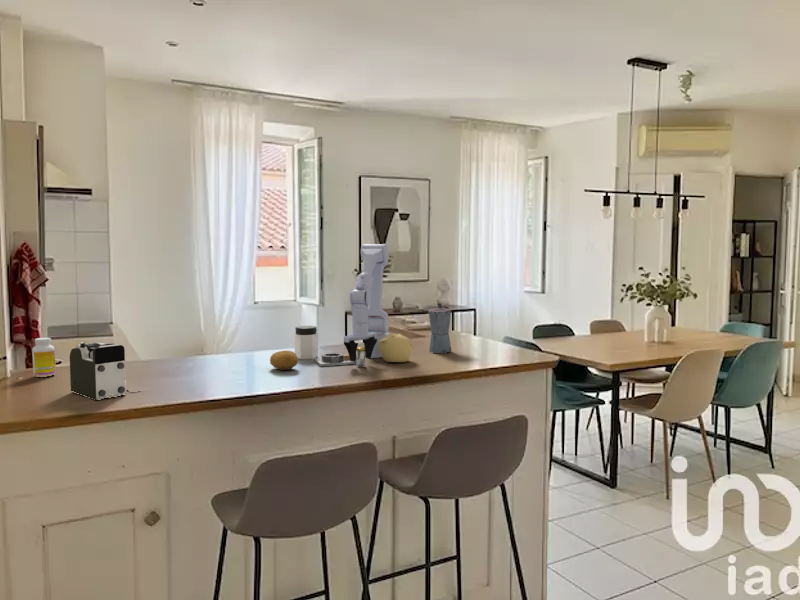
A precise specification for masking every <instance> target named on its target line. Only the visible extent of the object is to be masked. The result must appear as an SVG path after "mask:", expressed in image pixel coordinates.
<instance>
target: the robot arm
mask: <svg viewBox="0 0 800 600" xmlns="http://www.w3.org/2000/svg"><path fill="white" fill-rule="evenodd" d="M360 257H361V260H362V262H363V263H362V270H361V273H359V274H358V275H357V279H356V282H355V285H354V289H352V290H350V294H349V295H350V296H349V302H350V309H351V311H352V312H351V313H352V333H351V334H349V335H345V336H343V345H344V346H345V348H346V351H347V352H348V354H349V357H350V361H353V362H355V361H356V354H357V347H359V343H358V342H357V341H362V342H363V345H364V346H363V347H365V359H367V360H368V359H377V358H379V359H380V357H381V358H383V356H382V354H381V352H380V351H379V341H380V340H381V339H384V338H385V337H387V335H389V334H390V333H388V332H389V329H390V321H389V314H388V313H387V311H385V310H384V309H383V305H382V304H383V283H384V282H383V280H384V268H385V267H387V266H388V264H389V247H388V244H387V243H381V244H380V243H363V244H362V245H361V247H360Z"/></svg>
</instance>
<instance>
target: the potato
mask: <svg viewBox="0 0 800 600" xmlns="http://www.w3.org/2000/svg"><path fill="white" fill-rule="evenodd" d="M269 362H270V363H269V364H270V365H271V366H272V367H274V368H275V369H278V370H280V371H286V370H291V369H293V368H294V367H296V366H297V365H298V363H299V359H298V358H297V356H296V354H295V351H291V350H280V351H276V352H274V353H272V355H270V358H269Z"/></svg>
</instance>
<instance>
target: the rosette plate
mask: <svg viewBox="0 0 800 600" xmlns="http://www.w3.org/2000/svg"><path fill="white" fill-rule="evenodd" d="M312 360H313V362H314V363H315V364H316V363H317V365H318V366H319V367H320V368H323V367H322V366H325V367H336V366H335V365H340V366H349V365H348V364H354V365H357V353H356V361H355V362H353V361H350V357H349V353H348V354H343V353H339V352H337V353H336V352H327V353H323V354H321V357H317V358H313V359H312Z"/></svg>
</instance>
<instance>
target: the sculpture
mask: <svg viewBox="0 0 800 600" xmlns="http://www.w3.org/2000/svg"><path fill="white" fill-rule="evenodd" d="M388 334H389V335H387V337H385V338H384V339H381V340H380V341H379V351H380V352H381V354H382V356H383V357H382V358H383V360H384V361H385V362H387V363H406V362H408V361H409V360H410V358H411V357H412V355H413V345H412V343H411V341H410V340H409V338H408V337H406V336H405V335H402V333H397V332H395V333H388Z"/></svg>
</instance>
